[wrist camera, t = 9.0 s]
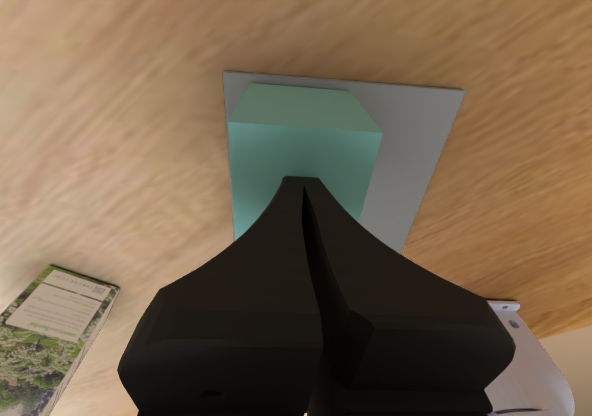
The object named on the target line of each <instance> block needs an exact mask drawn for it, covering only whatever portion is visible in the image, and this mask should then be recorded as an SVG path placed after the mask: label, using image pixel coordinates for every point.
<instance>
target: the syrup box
mask: <svg viewBox="0 0 592 416" xmlns="http://www.w3.org/2000/svg"><path fill="white" fill-rule="evenodd" d="M118 292H119V288H117V287H114V286H111V285H108V284H105V283H102V282H99V281H96V280H93V279H90V278H87V277H84V276H81V275H78V274H75V273H72V272H69V271H66V270H63V269H60V268H57V267H54V266H47V267H46V268H45V269H44V270H43V271H42V272H41V273H40V274H39V275H38V276H37V277H36V278H35V279H34V280H33V281H32V283H31V284H30V285H29V286H28V287H27V288H26V289H25V290H24V291H23V292H22V293H21V294H20V295H19V296H18V297H17V298H16V299H15V300H14V301H13V302H12V303H11V304H10V305H9V306H8V307H7V308H6V309H5V310H4V311H3V312H2V313H1V314H0V416H49V415H50V413H51V411H52V410H53V408H54V406H55V405H56V403H57V401H58V400H59V398H60V396H61V395H62V393H63V391H64V390H65V388H66V386H67V385H68V383H69V381H70V380H71V378H72V376H73V374H74V373H75V371H76V370H77V368H78V366H79V365H80V363H81V361H82V360H83V358H84V356H85V355H86V353H87V351H88V350H89V348H90V346H91V345H92V343H93V341H94V340H95V338H96V336H97V335H98V333H99V331H100V330H101V328H102V326H103V325H104V323H105V321H106V319H107V316H108V314H109V312H110V309H111V307H112V305H113V303H114V301H115V298H116V296H117V294H118Z"/></svg>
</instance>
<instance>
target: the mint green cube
mask: <svg viewBox="0 0 592 416" xmlns="http://www.w3.org/2000/svg"><path fill="white" fill-rule="evenodd" d="M382 134H383V132H382V131H381V130H380V129H379V127H378V126H377V125H376V124H375V122H374V121H373V120H372V118H371V117H370V116H369V115H368V113H367V112H366V111H365V109H364V108H363V107H362V106H361V104H360V103H359V102H358V100H357V99H356V98H355V97H354V95H353V94H352V93H351V91H342V90H330V89H317V88H305V87H293V86H280V85H268V84H256V83H249V85H248V86H247V88H246V90H245V92H244V94H243V95H242V97H241V99H240V101H239V102H238V104H237V106H236V108H235V110H234V111H233V113H232V115H231V117H230V119H229V120H228V135H229V151H230V167H231V183H232V200H233V216H234V232H235V241H236V240H237V239H238V238H239V237H240V236H241V235H242V234H243V233H244V232H245V231H246V230H247V229H248V228H249V227H250V226H251V225H252V224H253V223H254V222H255V221H256V220H257V219H258V218H259V216H260V215H261V214H262V212H263V211H264V210H265V209H266V207H267V206H268V205H269V203H270V202H271V200H272V199H273V197H274V195H275V194H276V192H277V190H278V188H279V186H280V184H281V182H282V178H283V177H285V176H298V177H315V178H319V179H320V180H321V181H322V183H323V184H324V185H325V186H326V188H327V189H328V190H329V191H330V193H331V194H332V195H333V196H334V198H335V199H336V200H337V201H338V202H339V203H340V205H341V206H342V207H343V208H344V209H345V210H346V211H347V212H348V213H349V214H350V215H351V216H352V217H353V218H354V219H355V220H356V221H357V222H358V223H359V220H360V217H361V213H362V209H363V205H364V202H365V198H366V194H367V190H368V187H369V183H370V179H371V175H372V172H373V168H374V164H375V161H376V157H377V153H378V149H379V146H380V142H381V138H382Z"/></svg>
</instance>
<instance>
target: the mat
mask: <svg viewBox="0 0 592 416" xmlns="http://www.w3.org/2000/svg"><path fill="white" fill-rule="evenodd" d="M249 83H256V84H268V85H280V86H293V87H305V88H317V89H330V90H342V91H351V93H352V94H353V95H354V97H355V98H356V99H357V100H358V102H359V103H360V104H361V106H362V107H363V108H364V109H365V111H366V112H367V113H368V115H369V116H370V117H371V118H372V120H373V121H374V122H375V124H376V125H377V126H378V127H379V129H380V130H381V131H382V132H383V134H382V138H381V142H380V146H379V149H378V153H377V157H376V161H375V164H374V168H373V172H372V175H371V179H370V183H369V187H368V190H367V194H366V198H365V202H364V205H363V209H362V213H361V217H360V220H359V224H361V225H362V226H363V227H364V228H365V229H366V230H368V231H369V232H370V233H371V234H373V235H374V236H375V237H376V238H378V239H379V240H380V241H382V242H383V243H384V244H386V245H387V246H389V247H390V248H392V249H393V250H395V251H396V252H398V253H399V254H401V251H402V249H403V246H404V244H405V241H406V239H407V236H408V234H409V231H410V229H411V226H412V224H413V221H414V219H415V217H416V214H417V212H418V209H419V207H420V204H421V202H422V199H423V197H424V194H425V192H426V189H427V187H428V184H429V182H430V179H431V177H432V175H433V172H434V170H435V167H436V165H437V162H438V160H439V157H440V155H441V152H442V150H443V147H444V145H445V142H446V140H447V137H448V135H449V133H450V130H451V128H452V125H453V123H454V120H455V118H456V115H457V113H458V110H459V108H460V105H461V103H462V100H463V98H464V95H465V93H466V91H465V90H462V89H454V88H441V87H429V86H416V85H403V84H390V83H378V82H365V81H352V80H340V79H327V78H314V77H301V76H289V75H276V74H263V73H250V72H238V71H225V70H224V71H223V86H224V100H225V114H226V128H227V143H228V157H229V171H230V186H231V200H232V183H231V167H230V151H229V135H228V120H229V119H230V117H231V115H232V113H233V111H234V110H235V108H236V106H237V104H238V102H239V101H240V99H241V97H242V95H243V94H244V92H245V90H246V88H247V86H248V85H249ZM232 214H233V200H232ZM233 228H234V216H233ZM234 241H235V232H234Z"/></svg>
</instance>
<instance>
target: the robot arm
mask: <svg viewBox="0 0 592 416" xmlns="http://www.w3.org/2000/svg"><path fill="white" fill-rule="evenodd" d="M519 308H520V305H519V303H518V302H516V301H489V300H486V299H485V298H483V297H481V296H478V295H476V294H474V293H472V292H470V291H468V290H466V289H464V288H461V287H459V286H457V285H455V284H453V283H451V282H449V281H447V280H444V279H442V278H440V277H439V276H437V275H435V274H433V273H431V272H429V271H428V270H426V269H424V268H422V267H420V266H419V265H417V264H415V263H414V262H412V261H410V260H408V259H407V258H405V257H404V256H402V255H401V254H399V253H398V252H396V251H395V250H393V249H392V248H390V247H389V246H387V245H386V244H384V243H383V242H382V241H380V240H379V239H378V238H376V237H375V236H374V235H373V234H371V233H370V232H369V231H368V230H366V229H365V228H364V227H363V226H362V225H361V224H359V223H358V222H357V221H356V220H355V219H354V218H353V217H352V216H351V215H350V214H349V213H348V212H347V211H346V210H345V209H344V208H343V207H342V206H341V205H340V203H339V202H338V201H337V200H336V199H335V198H334V196H333V195H332V194H331V193H330V191H329V190H328V189H327V188H326V186H325V185H324V184H323V183H322V181H321V180H320V179H319V178H315V177H298V176H285V177H283V178H282V182H281V184H280V186H279V188H278V190H277V192H276V194H275V195H274V197H273V199H272V200H271V202H270V203H269V205H268V206H267V207H266V209H265V210H264V211H263V212H262V214H261V215H260V216H259V218H258V219H257V220H256V221H255V222H254V223H253V224H252V225H251V226H250V227H249V228H248V229H247V230H246V231H245V232H244V233H243V234H242V235H241V236H240V237H239V238H238V239H237V240H236V241H234V242H233V243H232V244H231V245H230V246H229V247H227V248H226V249H225V250H224V251H222V252H221V253H219V254H218V255H217V256H215V257H214V258H212V259H211V260H210V261H208V262H207V263H205V264H204V265H202V266H201V267H199V268H197V269H196V270H194V271H192V272H191V273H189V274H187V275H185V276H183V277H182V278H180V279H178V280H176V281H175V282H173V283H171V284H169V285H167V286H165V287H163V288H161V289H160V290H159V291H158V292H157V294H156V295H155V297H154V298H153V300H152V302H151V303H150V305H149V306H148V308H147V309H146V311H145V312H144V314H143V316H142V317H141V319H140V321H139V322H138V324H137V326H136V328H135V331H134V333H133V335H132V337H131V339H130V341H129V343H128V345H127V347H126V349H125V351H124V353H123V355H122V357H121V360H120V362H119V366H118V369H117V371H118V374H119V377H120V380H121V382H122V384H123V386H124V387H125V389H126V391H127V392H128V394H129V395H130V397H131V398H132V400H133V402H134V403H135V405H136V406H137V408H138V410H139V412H138V415H137V416H304V413H307V416H573V414H574V408H575V406H574V399H573V395H572V392H571V389H570V386H569V384H568V382H567V380H566V378H565V376H564V374H563V373H562V372H561V370H560V369H559V367H558V366H557V365H556V363H555V362H554V361H553V359H552V358H551V357H550V355H549V354H548V353H547V352H546V350H545V349H544V348H543V346H542V345H541V344H540V342H539V341H538V340H537V338H536V337H535V336H534V334H533V333H532V332H531V330H530V329H529V328H528V327H527V325H526V324H525V323H524V321H523V320H522V319H521V317H520V316H519V315H518V313H517V312H516V311H517V310H518V309H519Z"/></svg>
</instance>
